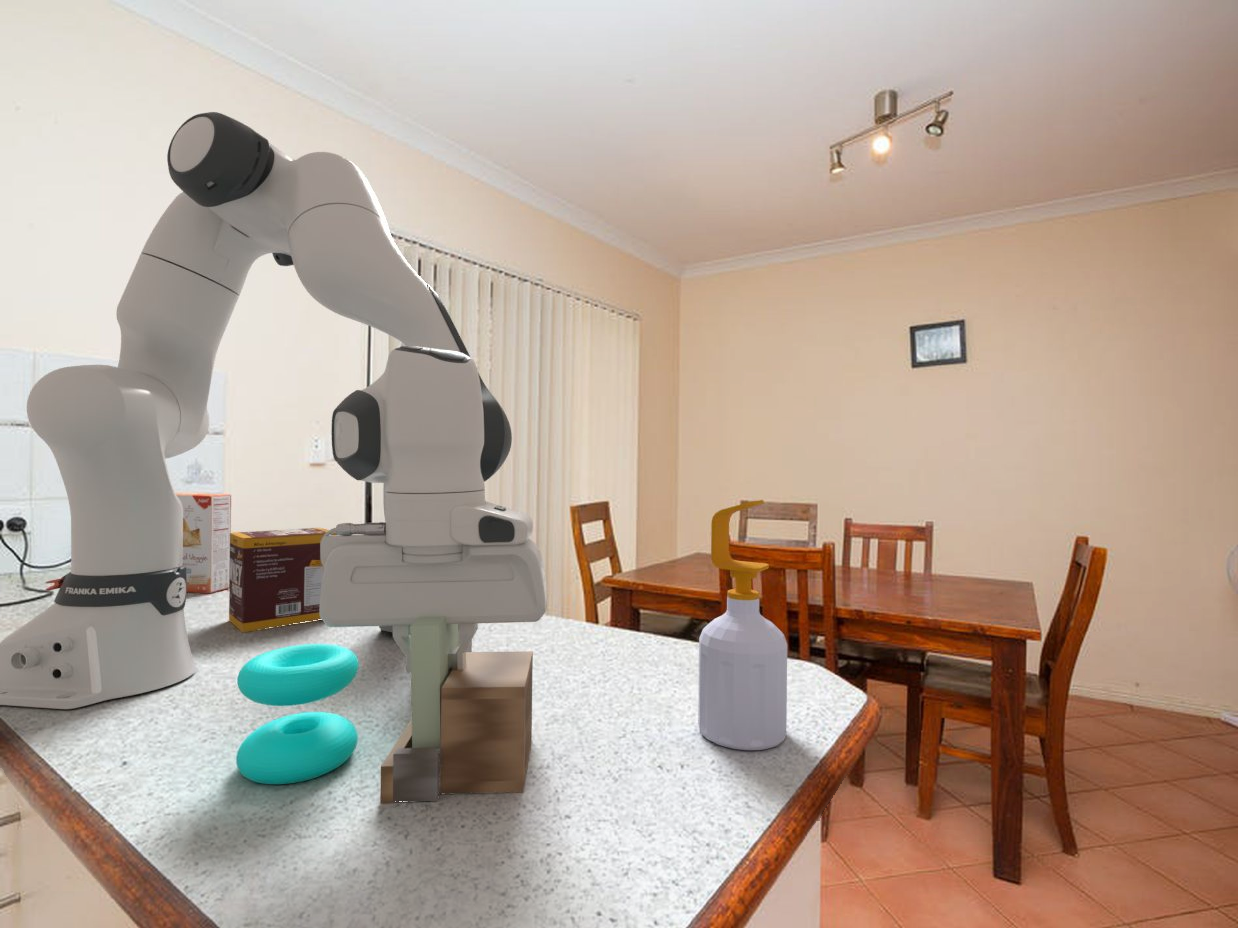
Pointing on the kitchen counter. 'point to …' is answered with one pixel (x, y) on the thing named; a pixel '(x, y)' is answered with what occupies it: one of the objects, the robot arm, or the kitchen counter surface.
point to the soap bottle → (741, 659)
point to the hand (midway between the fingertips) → (438, 669)
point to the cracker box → (206, 541)
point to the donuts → (300, 738)
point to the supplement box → (275, 577)
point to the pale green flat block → (429, 676)
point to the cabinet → (470, 734)
